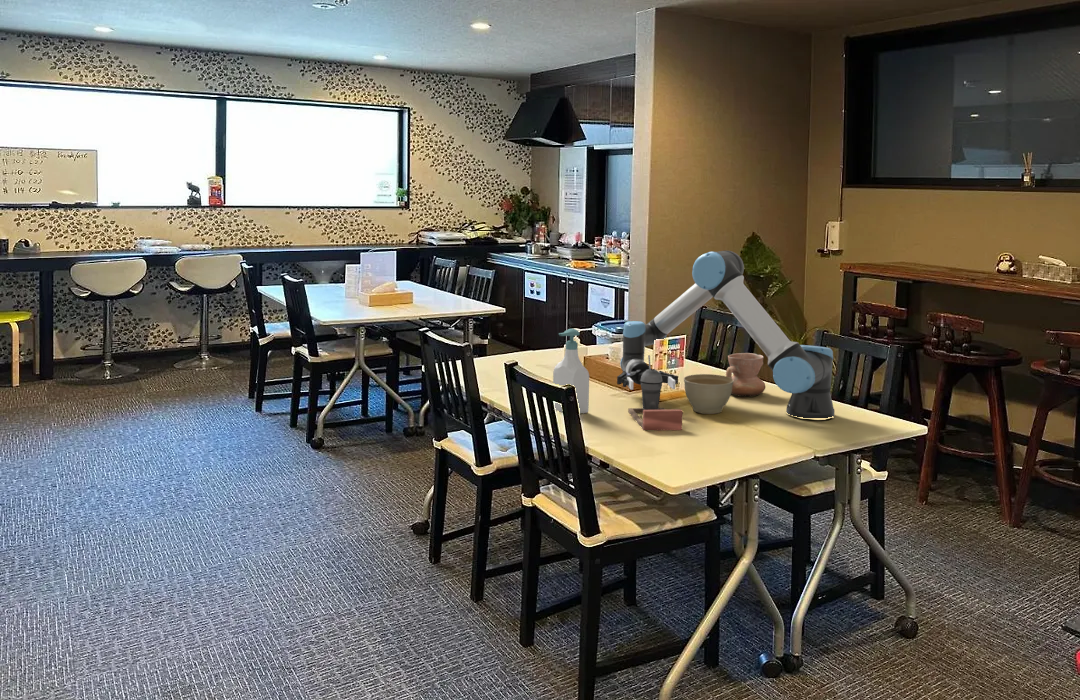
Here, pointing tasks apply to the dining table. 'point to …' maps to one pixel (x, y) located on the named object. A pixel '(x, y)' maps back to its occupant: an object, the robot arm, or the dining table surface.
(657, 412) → the brown tray
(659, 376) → the beverage cup
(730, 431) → the dining table surface
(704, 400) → the planter bowl
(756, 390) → the ceramic jug
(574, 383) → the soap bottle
